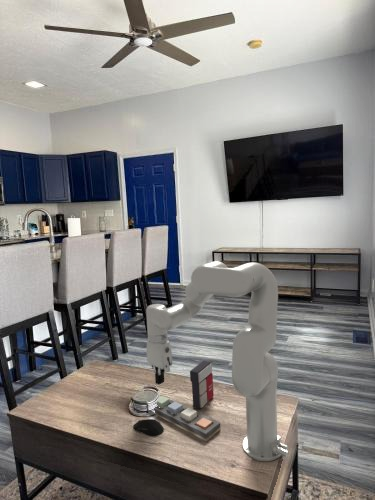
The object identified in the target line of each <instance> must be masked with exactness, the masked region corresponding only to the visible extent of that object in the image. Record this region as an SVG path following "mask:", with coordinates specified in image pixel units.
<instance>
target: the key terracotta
mask: <svg viewBox="0 0 375 500" xmlns="http://www.w3.org/2000/svg"><path fill="white" fill-rule="evenodd" d="M211 425H212V421H210V420H207V419H205V418H202V419H201V420H199V421H198V422H197V423H196V426H198V427H200V428H202V429H204V430H206V429H207V428H208V427H210V426H211Z"/></svg>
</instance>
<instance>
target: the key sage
mask: <svg viewBox="0 0 375 500" xmlns="http://www.w3.org/2000/svg"><path fill="white" fill-rule="evenodd" d="M157 398H158V400H157V405H158V407H160V408H164V407H165V406H167V405H169V404H170V402H169V399H170V398H169V397H166V396H164V395H161V396H159V397H157Z"/></svg>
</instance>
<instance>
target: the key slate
mask: <svg viewBox="0 0 375 500" xmlns="http://www.w3.org/2000/svg"><path fill="white" fill-rule="evenodd" d="M183 406H184V405H183V404H181V403H179V402H177V401H174V402H173V403H172V404H170V405H168V406H167V407H168V412H171V413H173V414H175V415H176V414H177V413H179V412H181V411H182V410H183Z"/></svg>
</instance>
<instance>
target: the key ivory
mask: <svg viewBox="0 0 375 500" xmlns="http://www.w3.org/2000/svg"><path fill="white" fill-rule="evenodd" d="M197 412H198V411H197V410H195V409H193V408H190V407H187V409H186V410H184V411H183V412H181V418H183V419H185V420H187V421H189V422H190V421H191V420H193V419H194V418H196V417H197Z"/></svg>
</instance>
